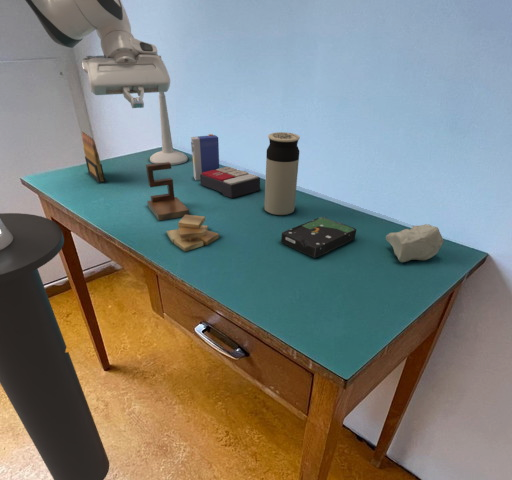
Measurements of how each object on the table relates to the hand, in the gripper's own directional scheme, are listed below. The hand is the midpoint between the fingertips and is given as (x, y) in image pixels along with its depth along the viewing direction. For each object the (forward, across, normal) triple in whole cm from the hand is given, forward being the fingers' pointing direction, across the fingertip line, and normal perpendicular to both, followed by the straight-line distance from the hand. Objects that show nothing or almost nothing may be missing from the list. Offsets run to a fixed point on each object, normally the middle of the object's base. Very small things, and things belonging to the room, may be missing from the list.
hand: (138, 106), depth 101 cm
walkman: (+12, +19, +18) cm, 29 cm away
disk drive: (+49, +26, -19) cm, 59 cm away
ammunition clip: (+3, -12, +27) cm, 30 cm away
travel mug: (+35, +27, -5) cm, 45 cm away
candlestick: (-4, +14, +34) cm, 37 cm away
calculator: (+20, +22, +10) cm, 31 cm away
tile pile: (+40, 0, -10) cm, 41 cm away
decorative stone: (+58, +41, -28) cm, 77 cm away
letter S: (+27, 0, +3) cm, 27 cm away
